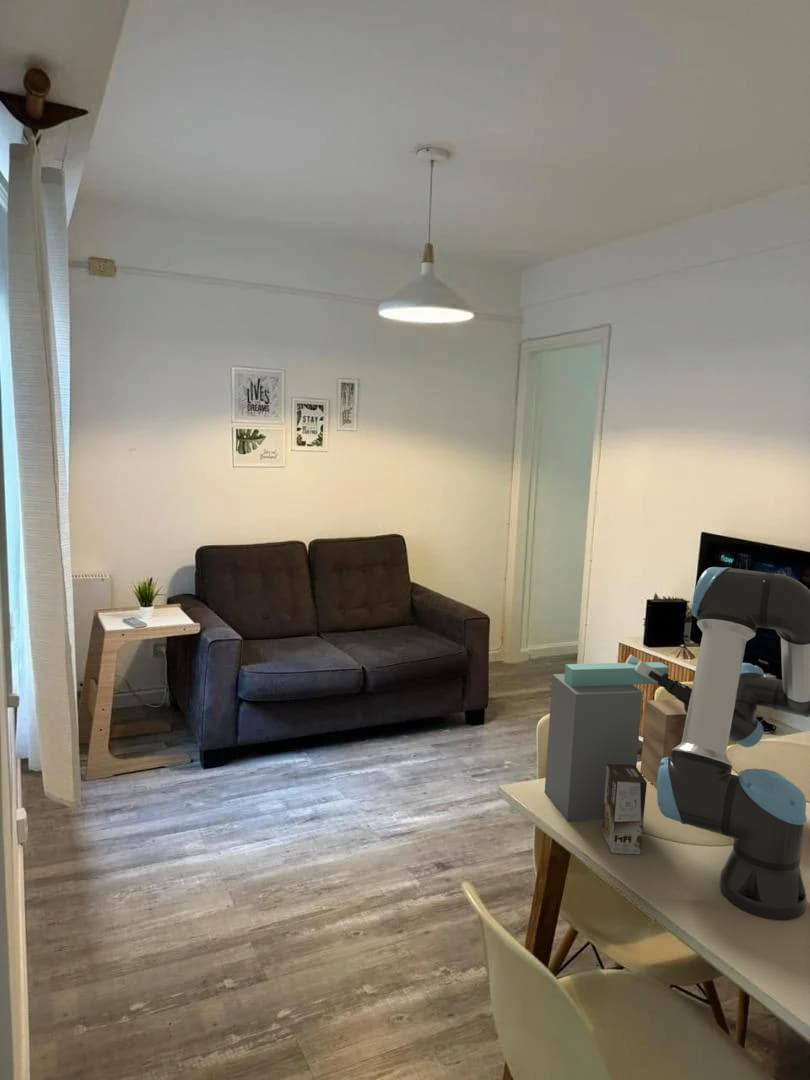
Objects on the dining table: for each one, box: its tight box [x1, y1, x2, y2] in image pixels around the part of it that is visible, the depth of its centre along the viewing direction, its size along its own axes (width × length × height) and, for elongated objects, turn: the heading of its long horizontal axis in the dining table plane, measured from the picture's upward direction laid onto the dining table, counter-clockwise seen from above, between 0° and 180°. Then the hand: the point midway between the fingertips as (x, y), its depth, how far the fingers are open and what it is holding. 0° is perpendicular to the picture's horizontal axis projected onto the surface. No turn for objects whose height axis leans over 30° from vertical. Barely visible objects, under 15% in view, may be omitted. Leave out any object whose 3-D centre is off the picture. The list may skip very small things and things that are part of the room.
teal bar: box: [564, 661, 670, 687], centre depth 178 cm, size 24×4×4 cm, turn 101°
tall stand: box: [544, 673, 644, 822], centre depth 179 cm, size 16×14×30 cm
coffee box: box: [601, 764, 648, 856], centre depth 164 cm, size 9×6×16 cm
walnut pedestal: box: [639, 698, 687, 789], centre depth 193 cm, size 10×10×20 cm
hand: (633, 662), depth 178 cm, fingers closed on teal bar, 4 cm apart
